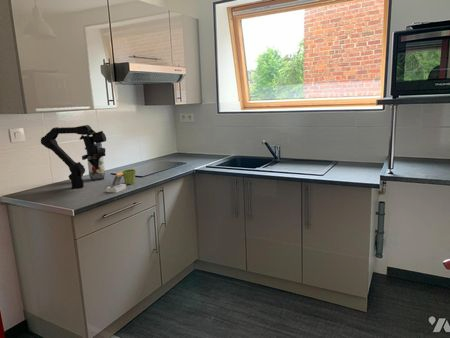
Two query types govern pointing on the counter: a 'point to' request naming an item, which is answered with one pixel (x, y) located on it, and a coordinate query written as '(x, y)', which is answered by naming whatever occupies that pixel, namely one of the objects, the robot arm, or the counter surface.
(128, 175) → the plant pot
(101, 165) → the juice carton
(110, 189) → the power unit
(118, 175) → the rocker lever
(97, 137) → the robot arm
